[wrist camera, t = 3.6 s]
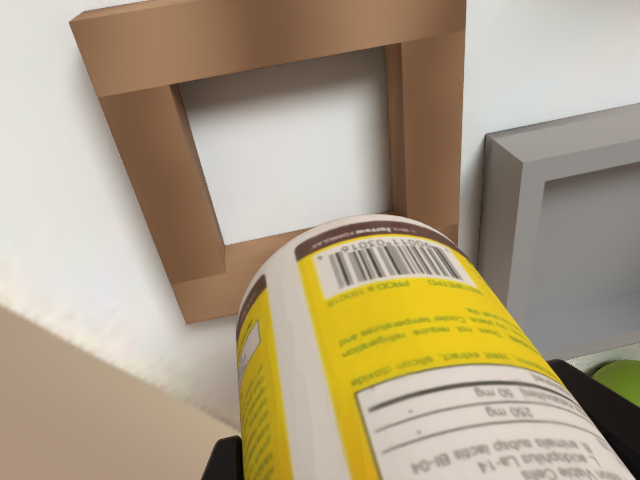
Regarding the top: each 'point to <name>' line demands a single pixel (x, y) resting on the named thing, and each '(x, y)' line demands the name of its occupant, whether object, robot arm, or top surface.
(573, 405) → the supplement bottle
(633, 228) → the parts tray
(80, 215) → the top surface
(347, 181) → the top surface
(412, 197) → the wooden rectangular frame
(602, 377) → the snail figurine
